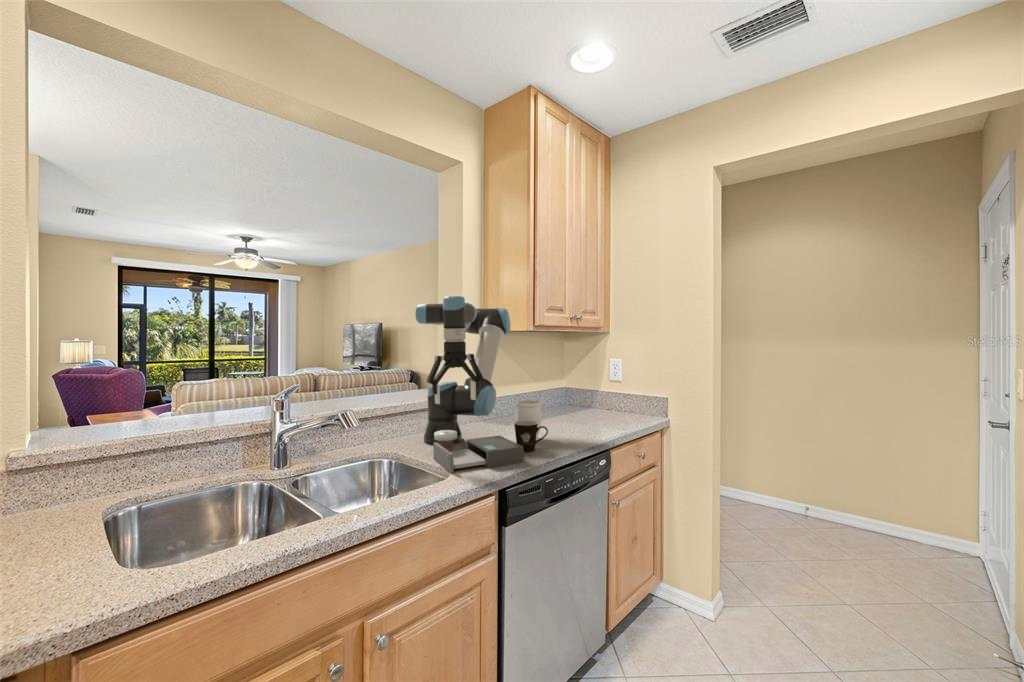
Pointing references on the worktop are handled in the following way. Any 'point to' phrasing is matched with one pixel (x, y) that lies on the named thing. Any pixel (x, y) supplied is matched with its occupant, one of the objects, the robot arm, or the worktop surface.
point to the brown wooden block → (447, 445)
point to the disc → (445, 435)
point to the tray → (456, 458)
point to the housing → (496, 450)
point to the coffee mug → (527, 434)
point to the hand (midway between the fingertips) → (455, 401)
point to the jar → (529, 412)
